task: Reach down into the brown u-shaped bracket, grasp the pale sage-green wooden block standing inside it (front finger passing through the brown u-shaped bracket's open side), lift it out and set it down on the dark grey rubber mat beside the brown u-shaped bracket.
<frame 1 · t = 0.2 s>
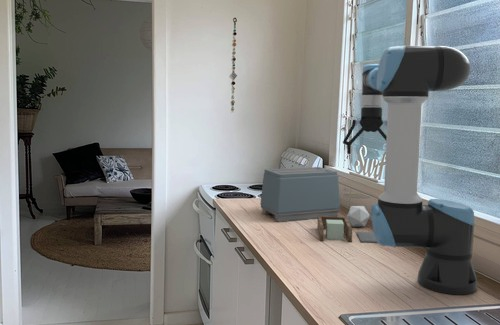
hand: (369, 163, 176), 28 cm above the kitchen counter, fingers open, 13 cm apart
mat: (375, 238, 174), on the kitchen counter
toaster: (303, 215, 211), on the kitchen counter
die: (357, 226, 192), on the kitchen counter
block: (334, 237, 176), resting in brown u-shaped bracket
brown u-shaped bracket: (333, 234, 178), on the kitchen counter
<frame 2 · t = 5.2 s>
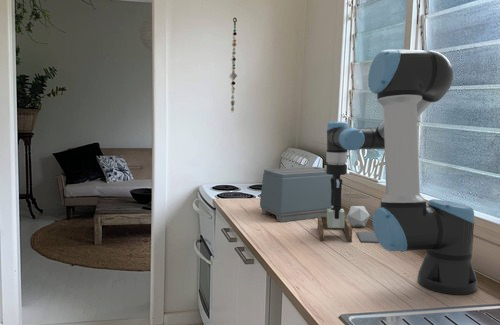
hand: (335, 224, 174), 5 cm above the kitchen counter, fingers closed on block, 6 cm apart
block: (335, 225, 174), point 4 cm above the kitchen counter, touching gripper
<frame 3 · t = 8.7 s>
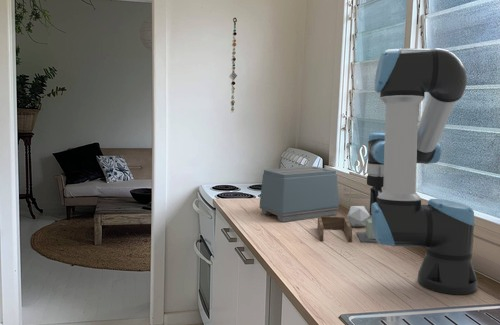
hand: (375, 235, 174), 1 cm above the kitchen counter, fingers closed on block, 6 cm apart
block: (375, 236, 174), point 1 cm above the kitchen counter, touching gripper, mat
when the fingers open (1 cm above the kitchen counter, at t = 9.2 s): block stays where it is, resting on mat.
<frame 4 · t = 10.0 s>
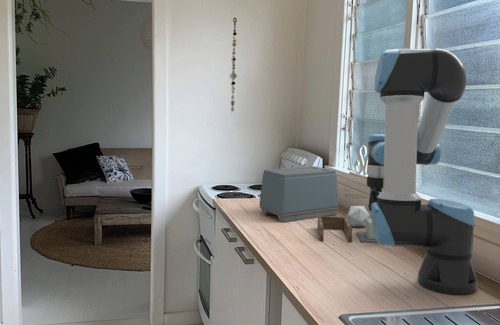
hand: (375, 232, 174), 2 cm above the kitchen counter, fingers open, 13 cm apart
block: (375, 236, 174), point 1 cm above the kitchen counter, touching mat
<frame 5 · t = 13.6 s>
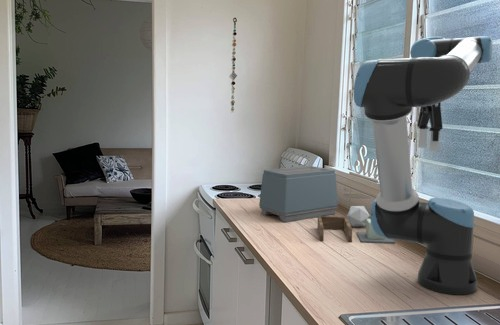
hand: (427, 149, 157), 35 cm above the kitchen counter, fingers open, 13 cm apart
at the end: block 0.2 cm from the mat (horizontally); block point 0.6 cm above the kitchen counter; block tilted 0° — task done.
